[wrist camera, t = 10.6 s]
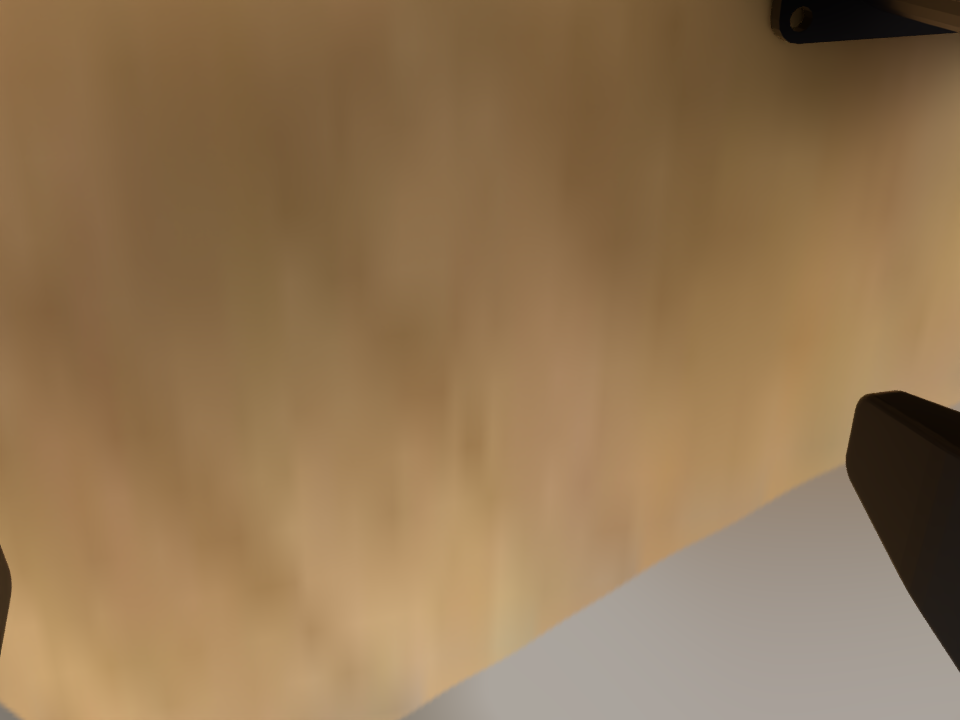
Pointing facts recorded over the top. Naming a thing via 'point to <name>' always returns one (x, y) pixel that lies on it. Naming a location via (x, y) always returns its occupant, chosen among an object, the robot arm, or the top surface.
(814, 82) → the top surface
